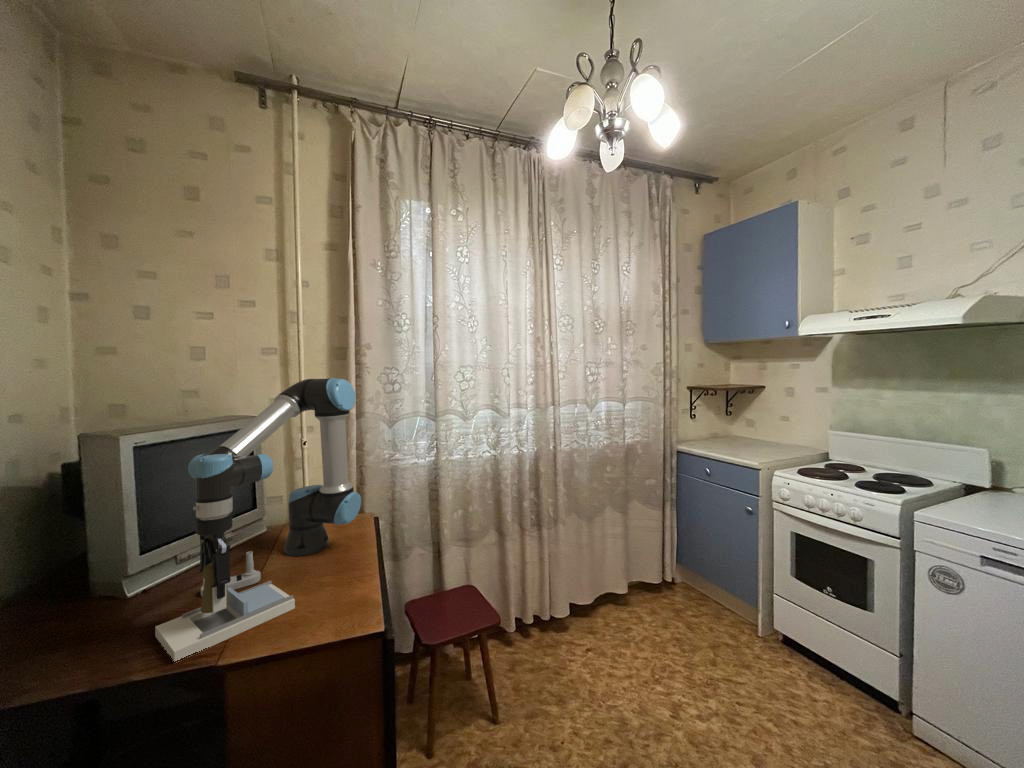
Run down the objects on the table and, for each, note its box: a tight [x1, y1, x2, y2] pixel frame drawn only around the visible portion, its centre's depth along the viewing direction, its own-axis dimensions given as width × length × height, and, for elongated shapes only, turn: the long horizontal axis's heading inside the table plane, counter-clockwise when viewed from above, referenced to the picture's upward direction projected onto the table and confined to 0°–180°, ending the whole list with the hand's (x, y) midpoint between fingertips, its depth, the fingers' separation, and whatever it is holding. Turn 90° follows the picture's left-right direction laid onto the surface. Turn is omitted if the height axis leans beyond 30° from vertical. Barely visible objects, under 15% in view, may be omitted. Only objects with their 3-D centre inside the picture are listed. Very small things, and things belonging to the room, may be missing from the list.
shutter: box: [228, 584, 285, 616], centre depth 107 cm, size 10×12×4 cm
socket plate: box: [154, 580, 296, 663], centre depth 102 cm, size 26×16×3 cm, turn 144°
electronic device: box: [200, 550, 262, 597], centre depth 120 cm, size 5×10×15 cm
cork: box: [200, 563, 230, 613], centre depth 100 cm, size 6×6×11 cm
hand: (214, 605), depth 100 cm, fingers closed on cork, 6 cm apart
